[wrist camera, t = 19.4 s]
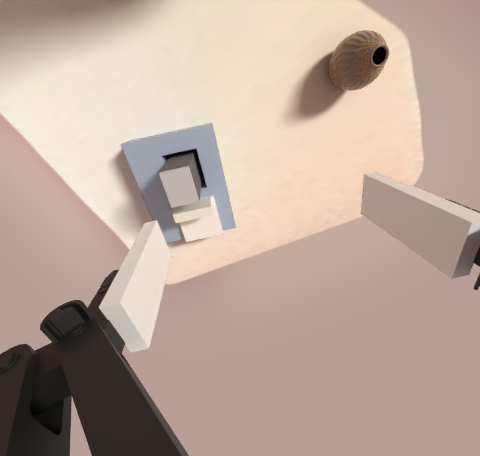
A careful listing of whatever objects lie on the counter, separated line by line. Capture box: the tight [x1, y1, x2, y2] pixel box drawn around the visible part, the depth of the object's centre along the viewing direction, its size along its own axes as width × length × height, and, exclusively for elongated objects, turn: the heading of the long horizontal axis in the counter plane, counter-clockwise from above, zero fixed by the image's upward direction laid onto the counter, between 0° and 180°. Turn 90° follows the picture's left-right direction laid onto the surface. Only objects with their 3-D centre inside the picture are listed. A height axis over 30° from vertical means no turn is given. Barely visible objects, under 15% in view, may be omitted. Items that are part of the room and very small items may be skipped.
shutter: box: [173, 195, 223, 242], centre depth 39 cm, size 8×7×5 cm
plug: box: [159, 150, 202, 208], centre depth 35 cm, size 5×4×12 cm
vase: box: [329, 30, 389, 90], centre depth 32 cm, size 7×7×9 cm
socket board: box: [121, 123, 236, 243], centre depth 40 cm, size 18×14×4 cm
